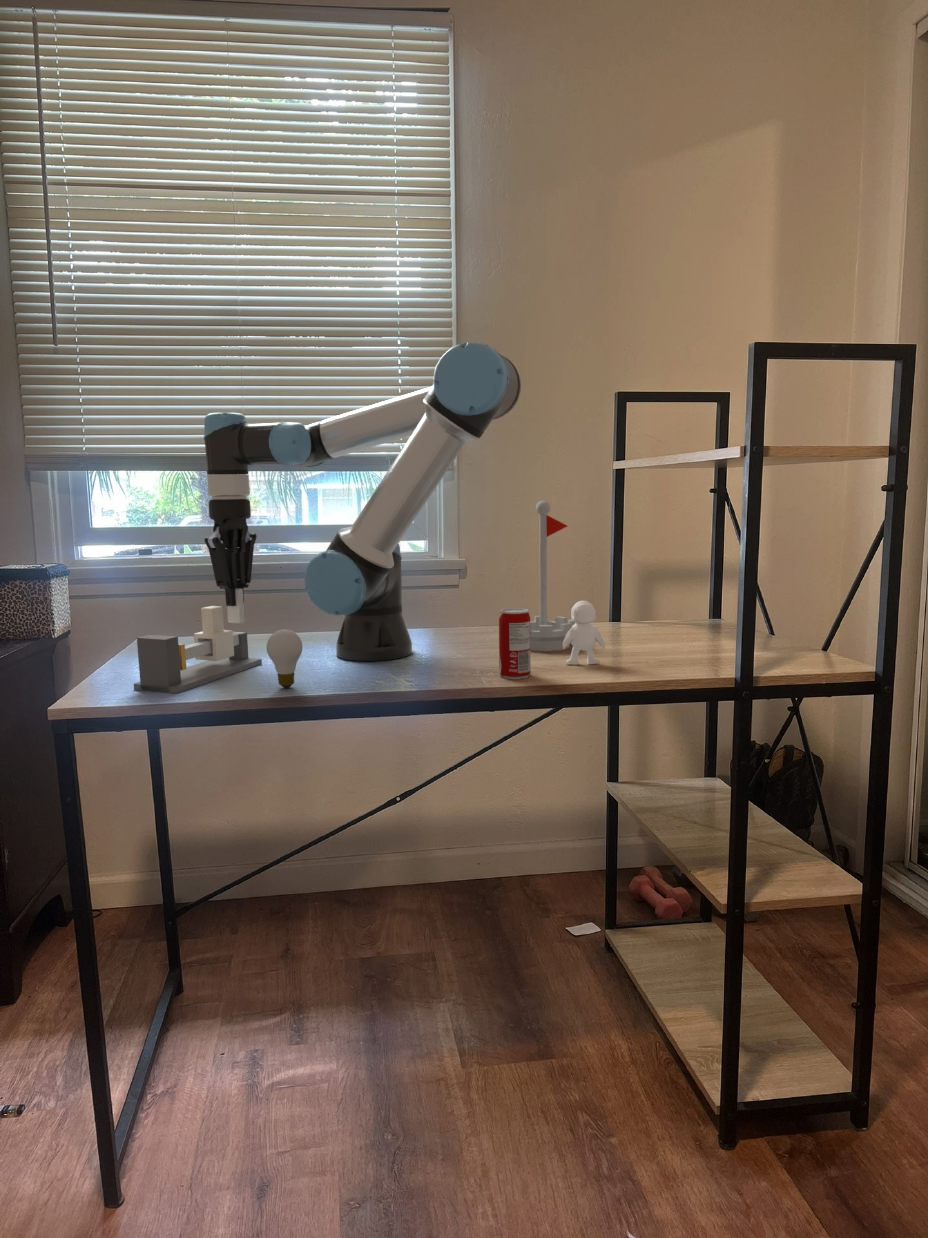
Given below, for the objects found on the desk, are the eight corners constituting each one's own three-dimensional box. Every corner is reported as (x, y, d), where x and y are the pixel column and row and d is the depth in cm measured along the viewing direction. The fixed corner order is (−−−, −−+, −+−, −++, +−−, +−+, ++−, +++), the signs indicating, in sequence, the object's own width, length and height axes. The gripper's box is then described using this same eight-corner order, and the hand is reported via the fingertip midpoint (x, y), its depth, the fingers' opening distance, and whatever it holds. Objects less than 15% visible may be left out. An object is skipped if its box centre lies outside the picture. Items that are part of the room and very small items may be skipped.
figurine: (563, 667, 153) (563, 602, 151) (559, 662, 158) (559, 599, 156) (606, 666, 154) (607, 601, 152) (601, 661, 158) (601, 598, 156)
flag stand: (503, 650, 171) (501, 501, 166) (523, 638, 182) (522, 500, 178) (564, 654, 166) (565, 501, 161) (581, 642, 177) (582, 499, 173)
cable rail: (261, 664, 161) (259, 617, 159) (176, 693, 139) (172, 640, 137) (223, 661, 164) (220, 615, 163) (134, 689, 142) (129, 637, 141)
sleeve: (234, 655, 156) (231, 605, 155) (217, 661, 151) (213, 609, 150) (213, 654, 158) (209, 604, 156) (195, 659, 153) (192, 608, 152)
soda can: (508, 671, 151) (508, 605, 149) (535, 674, 148) (535, 607, 146) (493, 677, 146) (493, 609, 144) (521, 681, 144) (521, 611, 142)
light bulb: (271, 684, 144) (268, 627, 142) (306, 683, 144) (303, 626, 143) (266, 692, 138) (263, 633, 137) (302, 691, 139) (299, 632, 137)
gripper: (234, 497, 164) (240, 616, 168) (189, 498, 152) (197, 626, 156) (266, 497, 161) (272, 618, 165) (223, 498, 149) (231, 629, 153)
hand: (236, 622), depth 160 cm, fingers closed
